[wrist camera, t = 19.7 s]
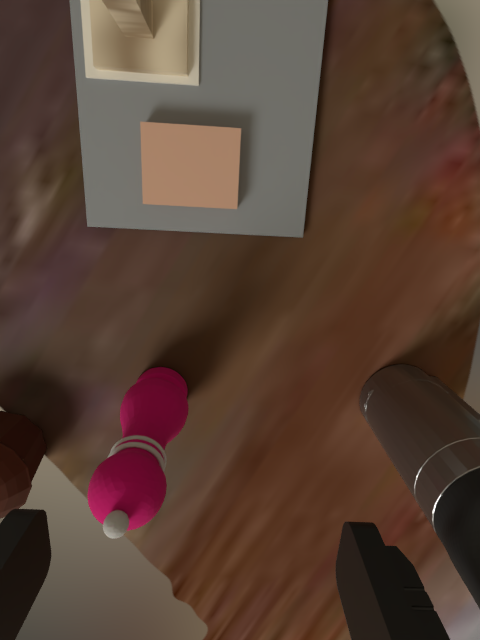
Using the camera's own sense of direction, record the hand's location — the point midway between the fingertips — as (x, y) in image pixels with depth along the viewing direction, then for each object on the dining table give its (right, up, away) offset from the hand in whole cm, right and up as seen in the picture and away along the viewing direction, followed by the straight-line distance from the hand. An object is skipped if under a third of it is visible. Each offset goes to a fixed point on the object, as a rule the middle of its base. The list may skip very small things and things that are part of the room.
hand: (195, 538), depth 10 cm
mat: (-3, +27, +24) cm, 36 cm away
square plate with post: (-7, +31, +21) cm, 39 cm away
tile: (-8, +21, +24) cm, 33 cm away
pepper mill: (-8, -2, +34) cm, 36 cm away
